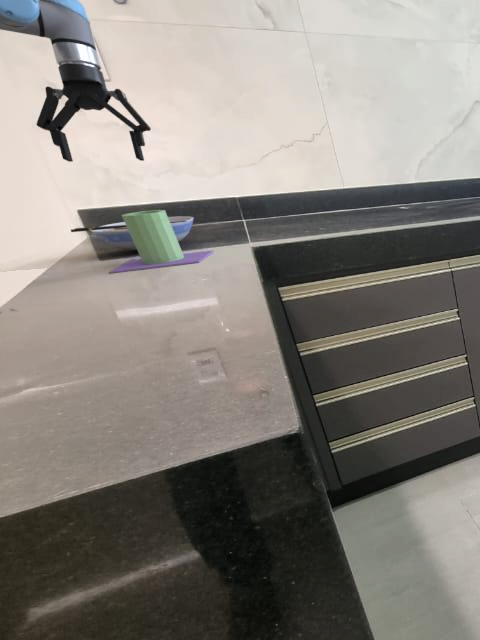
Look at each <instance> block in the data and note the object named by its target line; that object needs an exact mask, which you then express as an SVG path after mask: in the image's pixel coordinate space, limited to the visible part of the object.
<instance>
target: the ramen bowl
mask: <svg viewBox="0 0 480 640" xmlns="http://www.w3.org/2000/svg"><path fill="white" fill-rule="evenodd" d="M168 219H169V221H170V224H171V226H172V228H173V231H174V233H175V236H176V238H177V240H178V242H180V241H182V240H183V239H184V238H185V237H186V236H188V234H189V233H190V231H191V229H192V226H193V224H194V216H185V215H184V216H183V215H179V216H168ZM70 232H71V233H79V232H91V234H93V235H94V236H95V237H97V238H98V239H101V241H103V242H105V243H107V244H109V245H111V246H113V247H116V248H121V249H125V250H132V251H133V250H134V251H136V252H138V251H137V248H136V246H135V244H134V242H133V239H132V237H131V235H130V233H129V231H128V228H127V226H126V223H125V222H124V221H122V222H115V223H110V224H109V223H108V224H105V225H100V226H91V227H90V226H89V227H75V228H74V229H70Z"/></svg>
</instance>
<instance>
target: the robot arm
mask: <svg viewBox="0 0 480 640" xmlns="http://www.w3.org/2000/svg"><path fill="white" fill-rule="evenodd" d="M0 30H1V31H7V32H12V33H18V34H24V35H25V34H26V35H29V36H30V35H31V36H36V37H40V38H46V39H49V40H50V43H51V47H52V50H53V52H54V53H53V54H54V58H55V61H56V64H57V65H58V67H57V68H58V72H59V76H60V79H61V83H62V89H60V88H53V87H51V86H46V87H45V95H46V96H45V99H44V102H43V104H42V107H41V110H40V113H39V116H38V118H37V120H36V126H37V127H38V128H40V129H42V130H45V131H48V132H49V133H50V137H51V140H52V144H53V145H55V146H56V147H59V150H60V153H61V157H62V160H65V161H66V162H70V163H71V162H74V159H73V157H72V152H71V149H70V146H69V142H68V139H67V135H66V133H65V132H63V131H62V130H63V129H64V128H65V127H66V126H67V124H68V123H69V122H70V121H71V119H72V118H73V117H74V115H75V114H76V113H78V112H79V111H80V110H84V111H91V110H94V111H102V110H104V109H106V110H107V111H108V112H110V113H111V114H112V115H113V116H115V117H116V118H118V119H119V120H120V121H121V122H122V123H124V124H125V125H126V126H128V127H129V128H130V129H132V130H128V132H129V136H130V140H131V143H132V148H133V152H134V155H135V158H136V159H137V160H138V161H142V162H143V161H145V157H144V154H143V150H142V147H145V146H146V142H145V138H144V133H145V132H147V131H148V132H149V131H151V130H152V128H151V127H150V125H149V124H148V123H147V122H146V121H145V119H143V117H142V116H141V115H140V114H139V112H137V110H136V109H135V108H134V107H133V106H132V104H131V103H130V102H129V100H128V98H127V96H126V93H124V91H122V90H121V89H120V88H115V89H114V90H108V89H107V84H106V80H105V77H104V73H103V71H101V70H102V67H101V62H100V59H99V54H98V50H97V48H96V44H95V40H94V36H93V31H92V28H91V21H90V20H89V17H88V14H87V12H86V8H85V7H84V5H83V4H82V2H80V1H79V0H0ZM63 96H65V98H67V100H66V101H65V103H64V106H63V107H62V108H61V109H60V111H59V112H58V113H57V114H56V112H57V108H58V105H59V104H60V103H59V102H60V100H61V99H62V98H63ZM112 98H114V100H116V101H118V102H119V103H120V104H121V105H122V106H123V107H124V108H125V109H126V110H127V112H128V113H129V115H130V116H132V117H133V119H134V120H135V121H136V122H137V123H138V125H137V124H135V123H134V122H133V121H131V120H130V119H128V118H127V117H126V116H124V114H122V113H121V112H120V111H118V110H117V109H116V108H115V107H113V106H112V105H111V104H109V102H110V100H111V99H112ZM55 114H56V115H55Z"/></svg>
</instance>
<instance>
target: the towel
mask: <svg viewBox="0 0 480 640" xmlns="http://www.w3.org/2000/svg"><path fill="white" fill-rule="evenodd" d="M213 253H214V250H204V251H197V252H187V253H183V256H184V258H183V259H180V260H177V261H172V262H167V263H161V264H144V263H143V261H142V259H141V258H135V259H130V260H128V261H126V262H124V263H123V264H120V265H119V266H117V267H115V268H113V269H111V270H110V271H108V274H115V273H116V274H117V273H124V272H125V273H126V272H134V271H140V270H149V269H159V268H165V267H167V268H168V267H174V266H183V265H191V264H199V263H201V262H202V261H203V260H205V259H206V258H207V257H209V256H210V255H212V254H213Z"/></svg>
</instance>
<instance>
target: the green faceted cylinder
mask: <svg viewBox="0 0 480 640" xmlns="http://www.w3.org/2000/svg"><path fill="white" fill-rule="evenodd" d="M121 217H122V220H123V222H125V223H126V226H127V228H128V231H129V233H130V235H131V237H132V239H133V242H134V244H135V246H136V248H137V251H136V252H137V253H138V255H139V257H140V259H142V261H143V263H144V264H161V263H167V262H172V261H177V260H180V259H183V258H184V256H183V254H184V253H183V251H182V249H181V246H180V243H179V241H178V240H177V238H176V236H175V233H174V231H173V228H172V226H171V224H170V221H169V219H168V217H169V216H168V214H167V211H166V210H165V209H154V210H153V209H152V210H143V211H135V212H129V213H124V214H122V215H121Z"/></svg>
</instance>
